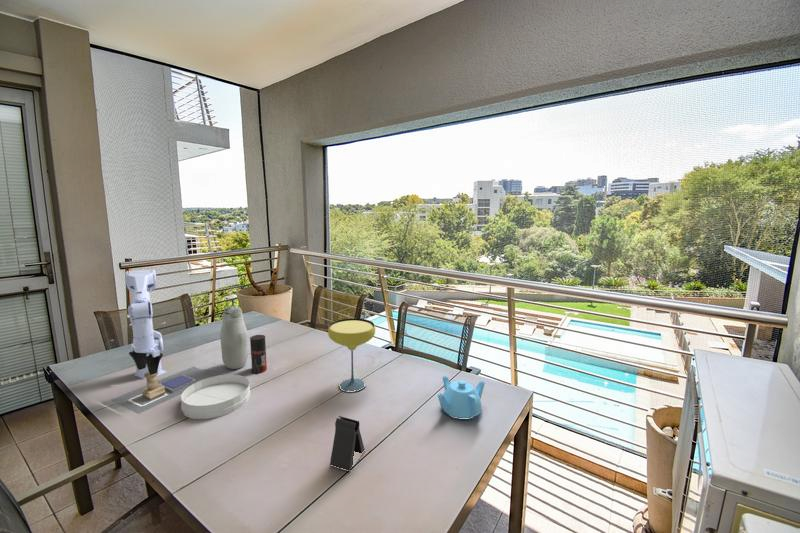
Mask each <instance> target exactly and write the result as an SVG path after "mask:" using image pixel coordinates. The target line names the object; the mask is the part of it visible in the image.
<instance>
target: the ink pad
mask: <svg viewBox="0 0 800 533" xmlns="http://www.w3.org/2000/svg"><path fill="white" fill-rule="evenodd" d="M194 383H196V379H193V378H190V377H188V376H185V375H180V376H177V377H175V378H173V379H170V380H168V381H165V382H163V383H160V384H159V385H162V386H164V387H165V390H167V391H169V392H172V393H174V392H176V391H178V390H180V389H183V388H185V387H187V386H189V385H192V384H194Z"/></svg>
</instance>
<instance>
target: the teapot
mask: <svg viewBox="0 0 800 533" xmlns="http://www.w3.org/2000/svg"><path fill="white" fill-rule="evenodd" d="M442 383H443V387H444V392H443V393H442V392H440V393H438V394H437V398H438V402H439V405H440V408H441V409H442V410H443V411H444V413H445V412H446V413H447V414H449V415H451V416H453V417H457V418H471V417H474V416H476V415H477V416H478V415H479V414H482V399H481V398H482V397H483V396H482V395H483V391H484V388H485V384H486V383H485V381H483V380H481V381H479V382H478V383H477V385H476V386H475V387H474V385H473V384H472V383H470V382H468V381H465V380H462V379H461V380H456V381H452V382H451V381H450V379H449V378H448V376H446V375H444V376H442ZM446 413H445V414H446ZM447 414H446V415H447ZM449 415H448V416H449ZM477 416H476V417H477ZM474 418H475V417H474Z"/></svg>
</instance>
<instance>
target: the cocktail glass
mask: <svg viewBox="0 0 800 533" xmlns="http://www.w3.org/2000/svg"><path fill="white" fill-rule="evenodd" d="M375 334H376V325H375V323H374V322H373V321H371V320H368V319H366V318H365V319H363V318H342V319H338V320H335V321H333V322H331V323H330V324H329V325H328V327H327V335H328V337H329V339H330V340H331V341H332V342H334V343H336V344H338V345H341V346H344V347H346V348H347V349H348V350H349V351H350V352H351V353H350V354H351V370H350V371H351V376H350V378H347V379H348V380H347V379H344V380H345V381H344V380H342V381H343V382H342V381H341V382H342V383H341V382H340V383H341V384H340V383H339V384H340V386H341V389H343V390H345V391H348V390H349V391H354V390H356V391H357V390H359V389H361V388H363V387H364V382H363V381H364V380H363V379H361V380H360V378H356V379H354V351H355V350H356V349H357V348H358V347H359V346H361V345H363V344H366V343H368V342H369V341H371V340H372V339H373V338H374V336H376V335H375ZM362 380H363V381H362Z"/></svg>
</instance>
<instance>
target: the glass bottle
mask: <svg viewBox="0 0 800 533" xmlns="http://www.w3.org/2000/svg"><path fill="white" fill-rule="evenodd" d="M221 323H222V324H221V327H220V333H219V334H220V335H219V336H220V350H221V358H222V362H223V364H224V366H225V367H226V368H227V369H230V370H238V369H241V368H243V367H244V366H245V365H246V364H247V362H248V358H249V346H248V345H249V344H248V341H249V340H248V331H247V330H248V329H247V327H246V326H247V325H246V323H245V320H244V317H243V310H242V308H241V307H240V306H238V305H229V306H225V308H224V309H223V312H222V321H221Z"/></svg>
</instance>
